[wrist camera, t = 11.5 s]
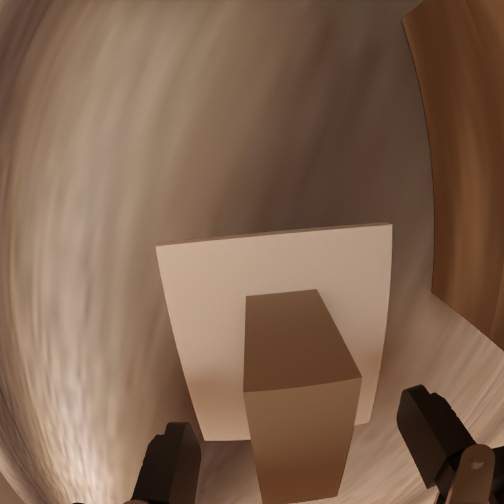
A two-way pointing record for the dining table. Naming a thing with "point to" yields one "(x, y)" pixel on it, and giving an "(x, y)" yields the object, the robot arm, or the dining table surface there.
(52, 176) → the dining table surface
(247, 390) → the lid
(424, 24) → the crate
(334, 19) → the dining table surface
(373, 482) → the dining table surface
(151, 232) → the dining table surface
